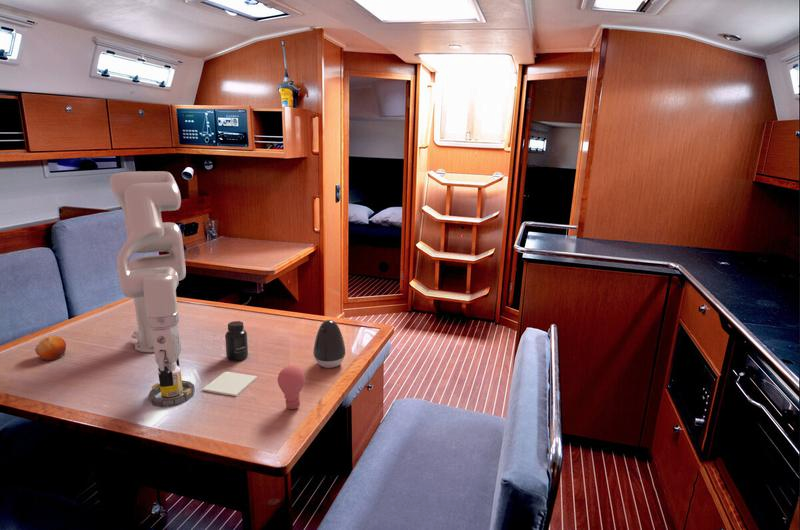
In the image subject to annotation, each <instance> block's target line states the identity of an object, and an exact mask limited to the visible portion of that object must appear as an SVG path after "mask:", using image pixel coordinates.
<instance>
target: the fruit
mask: <svg viewBox="0 0 800 530" xmlns="http://www.w3.org/2000/svg"><path fill="white" fill-rule="evenodd" d="M66 349H67V343H66V341H65V340H64V338H63V337H60V336H58V335H50V336H48V337H45V338H43V339H42V340H41V341H39V342H38V344H37V345H36V346H35V348H34V351H35V353H36V355H37V356H38V357H39V358H40V359H43V360H45V361H55V360H58V359H60V358H61V357H65V356H66V355H65V354H66Z"/></svg>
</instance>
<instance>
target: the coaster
mask: <svg viewBox="0 0 800 530" xmlns="http://www.w3.org/2000/svg"><path fill="white" fill-rule="evenodd" d="M256 378H257V379H258V376H257V375H251V374H245V373H238V372H233V371H224V372H223V373H221V374H219V376H218V377H216V378H215V379H214V380H212V381H211V382H209V383H208V384H207V385H206V386H205V387H203V388H202V391H203V392H206V391H207V392H209V393H212V394H219V395H225V396H230V395H231V397H236V396H237V397H238V396H239V395H240V394H241V393H243V392H244V391H245V390H246V389H247V388H248V387H249V386H250V385H251V384H253V383H254V382H255V381H256V380H257V379H256ZM255 379H256V380H255ZM254 380H255V381H254ZM253 381H254V382H253ZM248 385H249V386H248ZM247 386H248V387H247ZM246 387H247V388H246ZM245 388H246V389H245ZM244 389H245V390H244Z"/></svg>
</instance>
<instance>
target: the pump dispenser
mask: <svg viewBox="0 0 800 530" xmlns="http://www.w3.org/2000/svg"><path fill="white" fill-rule="evenodd" d="M313 344H314V346H313V357H314V361H316V363H317V364H318V365H319V366H321V367H323V368H326V369H332V368H336V367H338V366H339V365H341V364H342V362H343V360H344V358H345V356H346V346H345V341H344V337H343V333H342V331H341V328H340V327H339V325H338V323H337V322H336V321H334V320H332V319H326V320H324V321H323V322H322V323H321V324H320V326H319V328H318V330H317V333H316V336H315V340H314V343H313Z"/></svg>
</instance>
